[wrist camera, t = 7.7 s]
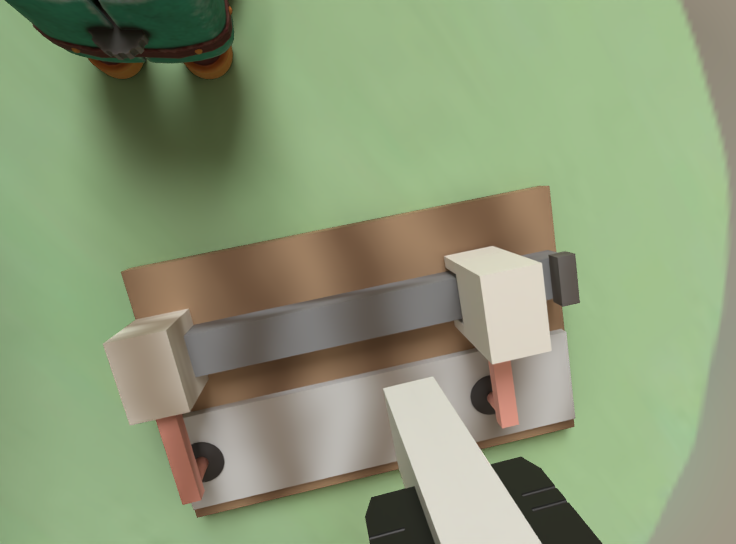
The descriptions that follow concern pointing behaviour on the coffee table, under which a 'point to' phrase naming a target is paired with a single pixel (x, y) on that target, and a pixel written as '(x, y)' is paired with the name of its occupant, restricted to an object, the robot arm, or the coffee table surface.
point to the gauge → (329, 348)
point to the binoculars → (138, 32)
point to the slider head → (501, 316)
